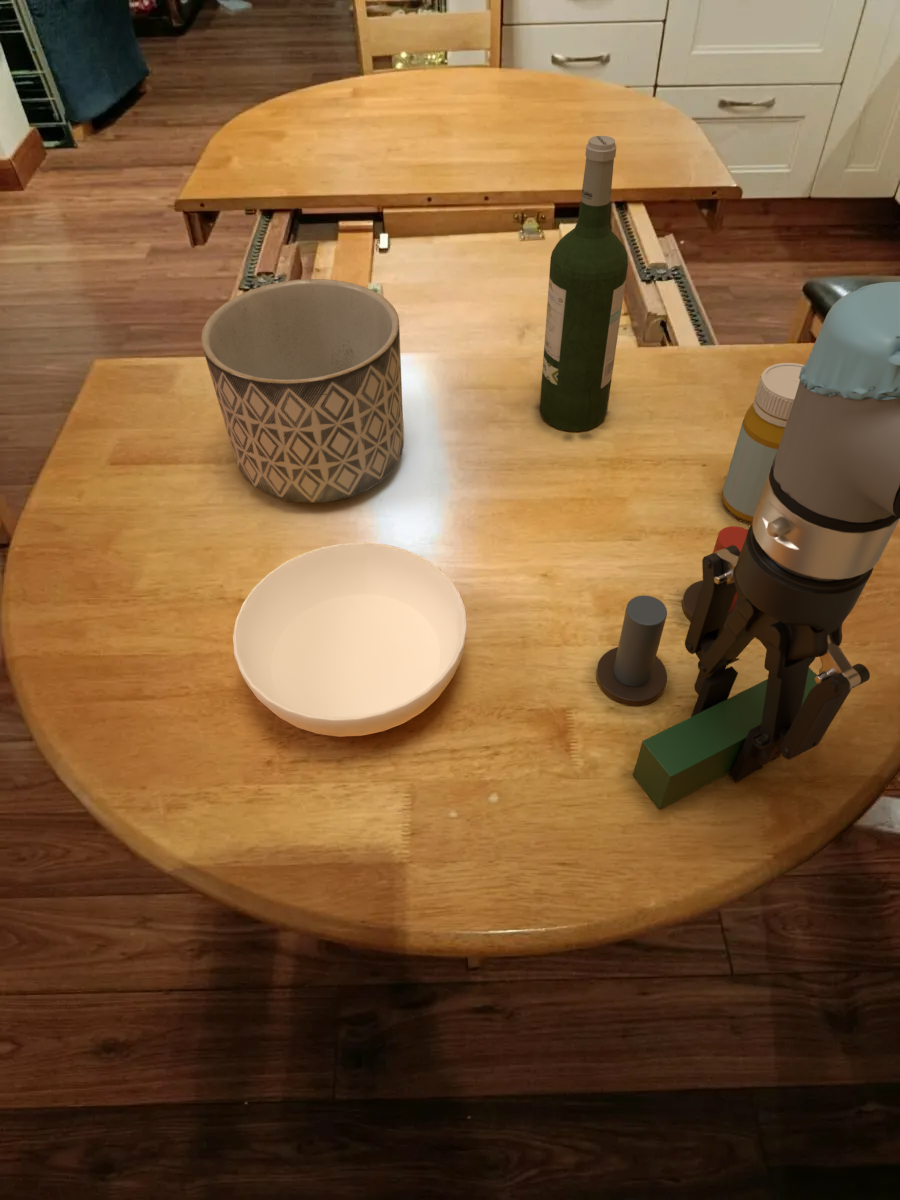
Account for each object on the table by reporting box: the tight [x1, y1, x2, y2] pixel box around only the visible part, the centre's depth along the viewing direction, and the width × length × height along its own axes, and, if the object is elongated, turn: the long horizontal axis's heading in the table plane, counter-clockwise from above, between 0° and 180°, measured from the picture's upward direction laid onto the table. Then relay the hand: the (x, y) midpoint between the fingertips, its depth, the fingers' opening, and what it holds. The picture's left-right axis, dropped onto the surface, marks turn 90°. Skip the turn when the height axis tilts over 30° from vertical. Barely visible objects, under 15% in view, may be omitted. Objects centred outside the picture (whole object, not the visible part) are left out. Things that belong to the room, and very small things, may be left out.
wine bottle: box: [539, 135, 629, 433], centre depth 89 cm, size 8×8×30 cm
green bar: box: [632, 667, 818, 811], centre depth 67 cm, size 4×16×5 cm, turn 118°
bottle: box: [721, 362, 805, 524], centre depth 83 cm, size 7×7×15 cm
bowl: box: [232, 541, 468, 738], centre depth 73 cm, size 20×20×6 cm
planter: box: [200, 278, 405, 504], centre depth 89 cm, size 19×19×16 cm
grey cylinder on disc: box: [595, 594, 668, 707], centre depth 71 cm, size 6×6×9 cm
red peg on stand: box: [681, 525, 748, 632], centre depth 76 cm, size 6×6×9 cm
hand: (724, 746), depth 69 cm, fingers open, 4 cm apart
